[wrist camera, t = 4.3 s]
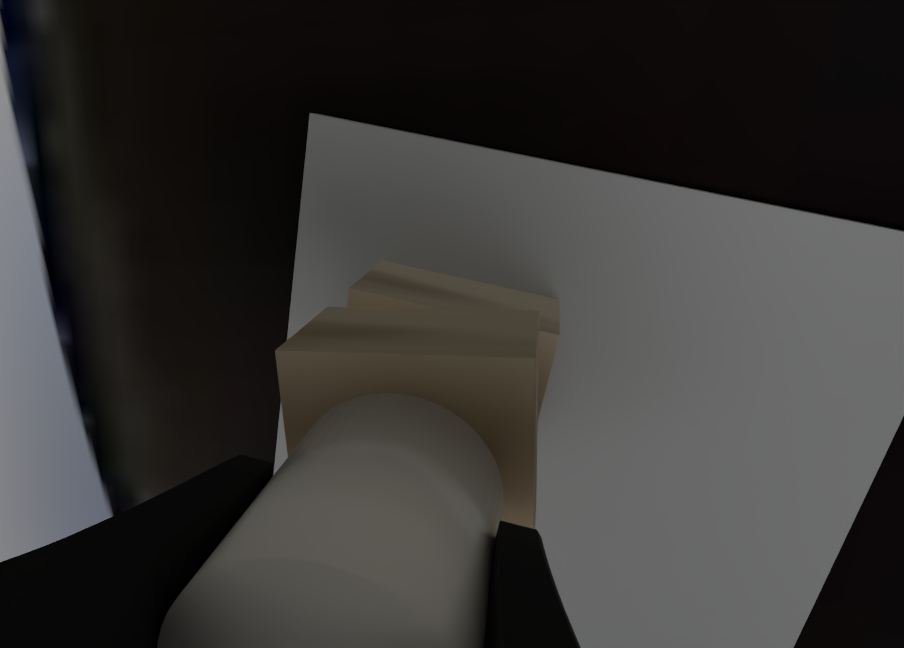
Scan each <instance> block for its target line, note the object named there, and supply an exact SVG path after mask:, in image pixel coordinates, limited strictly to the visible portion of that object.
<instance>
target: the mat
mask: <svg viewBox="0 0 904 648" xmlns="http://www.w3.org/2000/svg"><path fill="white" fill-rule="evenodd" d="M381 261H387V262H391V263H396V264H401V265H405V266H410V267H414V268H419V269H423V270H428V271H433V272H437V273H442V274H446V275H451V276H455V277H460V278H465V279H469V280H474V281H478V282H483V283H487V284H492V285H497V286H501V287H506V288H510V289H515V290H519V291H524V292H529V293H533V294H538V295H542V296H547V297H551V298H556V299H559V321H560V336H559V340H558V344H557V348H556V352H555V356H554V359H553V363H552V367H551V371H550V375H549V379H548V383H547V387H546V391H545V395H544V398H543V402H542V406H541V410H540V414H539V418H538V433H537V494H536V519H535V529H536V530H537V531H538V532H539V534H540V536H541V537H542V542H543V546H544V549H545V553H546V557H547V560H548V563H549V566H550V569H551V573H552V576H553V578H554V581H555V584H556V587H557V590H558V593H559V595H560V598H561V601H562V603H563V606H564V609H565V611H566V613H567V616H568V618H569V621H570V623H571V626H572V628H573V630H574V633H575V635H576V638H577V640H578V642H579V645H580V647H581V648H793V647H794V645H795V643H796V641H797V639H798V637H799V635H800V633H801V631H802V628H803V626H804V624H805V622H806V620H807V618H808V616H809V614H810V612H811V610H812V607H813V605H814V603H815V601H816V599H817V597H818V595H819V593H820V591H821V589H822V586H823V584H824V582H825V580H826V578H827V576H828V574H829V572H830V570H831V568H832V565H833V563H834V561H835V559H836V557H837V555H838V553H839V551H840V549H841V546H842V544H843V542H844V540H845V538H846V536H847V534H848V532H849V530H850V528H851V525H852V523H853V521H854V519H855V517H856V515H857V513H858V511H859V509H860V507H861V504H862V502H863V500H864V498H865V496H866V494H867V492H868V490H869V488H870V486H871V483H872V481H873V479H874V477H875V475H876V473H877V471H878V469H879V467H880V464H881V462H882V460H883V458H884V456H885V454H886V452H887V450H888V448H889V446H890V443H891V441H892V439H893V437H894V435H895V433H896V431H897V429H898V427H899V425H900V422H901V420H902V418H903V416H904V231H902V230H897V229H892V228H887V227H882V226H877V225H872V224H867V223H862V222H857V221H852V220H847V219H842V218H837V217H832V216H827V215H822V214H817V213H812V212H807V211H802V210H797V209H792V208H787V207H782V206H777V205H772V204H767V203H762V202H757V201H752V200H747V199H742V198H737V197H732V196H727V195H722V194H717V193H712V192H707V191H702V190H697V189H692V188H687V187H682V186H677V185H672V184H667V183H662V182H657V181H652V180H647V179H642V178H637V177H632V176H627V175H622V174H617V173H612V172H607V171H602V170H597V169H592V168H587V167H582V166H577V165H572V164H567V163H562V162H557V161H552V160H547V159H542V158H537V157H532V156H527V155H522V154H517V153H512V152H507V151H502V150H497V149H492V148H487V147H482V146H477V145H472V144H467V143H462V142H457V141H452V140H447V139H442V138H437V137H432V136H427V135H422V134H417V133H412V132H407V131H402V130H397V129H392V128H387V127H382V126H377V125H372V124H367V123H362V122H357V121H352V120H347V119H342V118H337V117H332V116H327V115H322V114H317V113H310V115H309V125H308V135H307V145H306V155H305V165H304V175H303V185H302V195H301V205H300V215H299V225H298V235H297V245H296V255H295V265H294V275H293V285H292V295H291V305H290V315H289V325H288V335H287V340H288V339H289V338H291V337H292V336H293V335H294V334H295V333H297V332H298V331H299V330H300V329H301V328H303V327H304V326H305V325H306V324H307V323H308V322H310V321H311V320H312V319H313V318H314V317H316V316H317V315H318V314H319V313H320V312H322V311H323V310H324V309H325V308H326V307H347V300H348V293H349V288H350V287H351V286H352V285H353V284H355V283H356V282H357V281H358V280H359V279H361V278H362V277H363V276H364V275H365V274H367V273H368V272H369V271H370V270H371V269H372V268H374V267H375V266H376V265H377V264H378V263H380V262H381ZM287 458H288V454H287V446H286V438H285V430H284V421H283V413H282V405H280V415H279V425H278V435H277V445H276V455H275V465H274V474H275V473H276V472H277V470H278V469H279V468H280V467H281V465H282V464H283V463H284V462H285V460H286V459H287ZM273 476H274V475H273Z"/></svg>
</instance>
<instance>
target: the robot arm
mask: <svg viewBox="0 0 904 648" xmlns="http://www.w3.org/2000/svg"><path fill="white" fill-rule="evenodd" d="M273 464H274V463H270V462H266V461H262V460H258V459H254V458H250V457H246V456H243V455H238V456H236V457H234V458H232V459H229V460H227V461H225V462H223V463H221V464H219V465H217V466H215V467H213V468H211V469H209V470H207V471H205V472H203V473H201V474H200V475H198V476H196V477H194V478H192V479H190V480H188V481H186V482H184V483H182V484H180V485H178V486H176V487H174V488H172V489H170V490H168V491H166V492H164V493H162V494H160V495H158V496H156V497H154V498H152V499H150V500H148V501H145V502H143V503H141V504H139V505H137V506H135V507H133V508H131V509H129V510H127V511H125V512H122V513H120V514H118V515H115V516H113V517H111V518H109V519H106V520H104V521H102V522H100V523H98V524H95V525H93V526H91V527H89V528H86V529H84V530H82V531H80V532H77V533H75V534H73V535H71V536H68V537H66V538H63V539H61V540H59V541H56V542H54V543H51V544H49V545H46V546H44V547H41V548H38V549H36V550H33V551H30V552H28V553H25V554H22V555H20V556H17V557H14V558H11V559H8V560H6V561H3V562H0V648H157V644H158V638H159V634H160V629H161V626H162V623H163V621H164V619H165V616H166V614H167V612H168V610H169V609H170V607H171V606H172V604H173V603H174V601H175V600H176V598H177V597H178V596H179V595H180V593H181V592H182V591H183V589H184V588H185V587H186V586H187V584H188V583H189V582H190V581H191V579H192V578H193V577H194V576H195V574H196V573H197V572H198V570H199V569H200V568H201V567H202V565H203V564H204V563H205V562H206V560H207V559H208V558H209V557H210V555H211V554H212V553H213V551H214V550H215V549H216V548H217V546H218V545H219V544H220V543H221V541H222V540H223V539H224V538H225V536H226V535H227V534H228V532H229V531H230V530H231V529H232V527H233V526H234V525H235V524H236V522H237V521H238V520H239V519H240V517H241V516H242V515H243V513H244V512H245V511H246V510H247V508H248V507H249V506H250V505H251V503H252V502H253V501H254V500H255V498H256V497H257V496H258V495H259V493H260V492H261V491H262V489H263V488H264V487H265V486H266V484H267V483H268V482H269V481H270V479H271V478H272V474H273ZM484 648H581V647H580V645H579V642H578V640H577V638H576V635H575V633H574V630H573V628H572V626H571V623H570V621H569V618H568V616H567V613H566V611H565V609H564V606H563V603H562V601H561V598H560V595H559V593H558V590H557V587H556V584H555V581H554V578H553V576H552V573H551V569H550V566H549V563H548V560H547V557H546V553H545V549H544V546H543V542H542V537H541V536H540V534H539V532H538V531H537V530H536V529H532V528H528V527H524V526H520V525H516V524H513V523H509V522H505V521H501V520H500V522H499V526H498V530H497V534H496V539H495V546H494V553H493V560H492V567H491V574H490V582H489V595H488V607H487V618H486V630H485V640H484Z"/></svg>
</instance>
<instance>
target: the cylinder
mask: <svg viewBox="0 0 904 648" xmlns="http://www.w3.org/2000/svg"><path fill="white" fill-rule="evenodd" d="M503 503H504V494H503V484H502V479H501V475H500V472H499V469H498V466H497V463H496V461H495V459H494V457H493V455H492V453H491V451H490V450H489V448H488V447H487V445H486V444H485V442H484V441H483V439H482V438H481V437H480V436H479V435H478V434H477V432H476V431H475V430H474V429H473V428H472V427H471V426H469V425H468V424H467V423H466V422H465V421H464V420H463V419H461V418H460V417H458V416H457V415H456V414H454V413H453V412H451V411H450V410H448V409H446V408H444V407H442V406H440V405H438V404H436V403H433V402H431V401H428V400H426V399H423V398H419V397H415V396H411V395H405V394H398V393H377V394H368V395H364V396H360V397H356V398H353V399H350V400H348V401H345V402H343V403H341V404H339V405H337V406H335V407H334V408H332V409H330V410H329V411H328V412H327V413H325V414H324V415H323V416H322V417H321V418H320V419H319V420H318V421H317V422H316V423H315V424H314V425H313V426H312V427H311V429H310V430H309V431H308V432H307V434H306V435H305V436H304V438H303V439H302V440H301V441H300V443H299V444H298V445H297V446H296V448H295V449H294V450H293V451H292V453H291V454H290V455H289V457H288V458H287V459H286V460H285V462H284V463H283V464H282V465H281V467H280V468H279V469H278V470H277V472H276V473H275V474H274V476H273V477H272V478H271V479H270V481H269V482H268V483H267V484H266V486H265V487H264V488H263V489H262V491H261V492H260V493H259V495H258V496H257V497H256V498H255V500H254V501H253V502H252V503H251V505H250V506H249V507H248V508H247V510H246V511H245V512H244V513H243V515H242V516H241V517H240V519H239V520H238V521H237V522H236V524H235V525H234V526H233V527H232V529H231V530H230V531H229V532H228V534H227V535H226V536H225V538H224V539H223V540H222V541H221V543H220V544H219V545H218V546H217V548H216V549H215V550H214V551H213V553H212V554H211V555H210V557H209V558H208V559H207V560H206V562H205V563H204V564H203V565H202V567H201V568H200V569H199V570H198V572H197V573H196V574H195V576H194V577H193V578H192V579H191V581H190V582H189V583H188V584H187V586H186V587H185V588H184V589H183V591H182V592H181V593H180V595H179V596H178V597H177V598H176V600H175V601H174V603H173V604H172V606H171V607H170V609H169V610H168V612H167V614H166V616H165V619H164V621H163V623H162V626H161V629H160V634H159V638H158V644H157V648H484V640H485V630H486V618H487V607H488V595H489V582H490V574H491V567H492V560H493V553H494V546H495V539H496V534H497V530H498V526H499V522H500V520H501V519H502V512H503Z"/></svg>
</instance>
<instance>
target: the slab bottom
mask: <svg viewBox="0 0 904 648" xmlns="http://www.w3.org/2000/svg"><path fill="white" fill-rule="evenodd" d="M347 307H374V308H427V309H481V310H534V311H539V371H538V418H539V414H540V410H541V406H542V402H543V398H544V395H545V391H546V387H547V383H548V379H549V375H550V371H551V367H552V363H553V359H554V356H555V352H556V348H557V344H558V340H559V336H560V321H559V299H556V298H551V297H547V296H542V295H538V294H533V293H529V292H524V291H519V290H515V289H510V288H506V287H501V286H497V285H492V284H487V283H483V282H478V281H474V280H469V279H465V278H460V277H455V276H451V275H446V274H442V273H437V272H433V271H428V270H423V269H419V268H414V267H410V266H405V265H401V264H396V263H391V262H387V261H381V262H380V263H378V264H377V265H376V266H375V267H374V268H372V269H371V270H370V271H369V272H368V273H367V274H365V275H364V276H363V277H362V278H361V279H359V280H358V281H357V282H356V283H355V284H353V285H352V286H351V287H350V288H349V293H348V300H347Z"/></svg>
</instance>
